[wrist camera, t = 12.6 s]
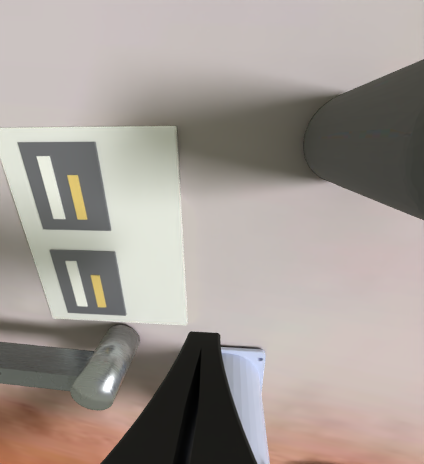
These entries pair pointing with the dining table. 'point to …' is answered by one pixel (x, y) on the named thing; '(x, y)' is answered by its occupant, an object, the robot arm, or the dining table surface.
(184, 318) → the label board
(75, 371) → the swing arm
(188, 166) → the dining table surface
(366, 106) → the bottle
